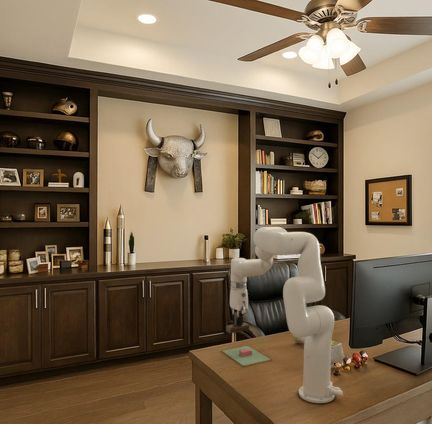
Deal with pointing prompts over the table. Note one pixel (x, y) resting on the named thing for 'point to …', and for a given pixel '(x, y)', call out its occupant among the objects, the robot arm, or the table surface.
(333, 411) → the table surface
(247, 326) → the brown t-shaped block
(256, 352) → the desk pad
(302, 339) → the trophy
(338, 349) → the arrowhead
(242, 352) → the eraser
